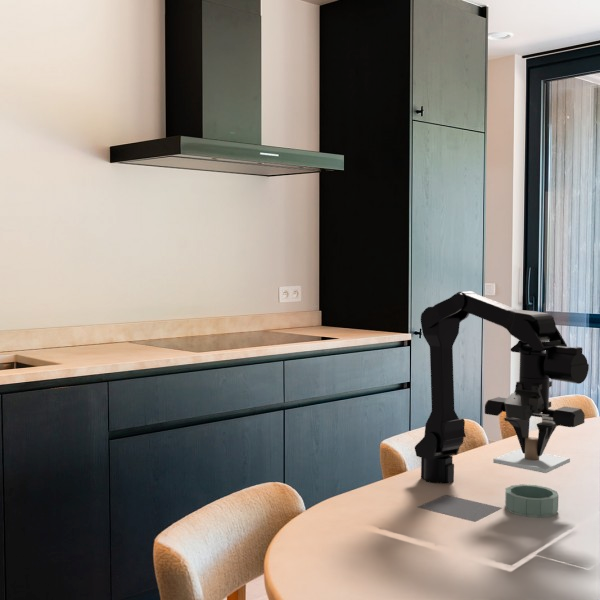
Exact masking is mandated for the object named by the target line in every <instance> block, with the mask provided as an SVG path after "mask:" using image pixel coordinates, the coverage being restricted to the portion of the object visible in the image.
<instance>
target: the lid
mask: <svg viewBox="0 0 600 600" xmlns="http://www.w3.org/2000/svg"><path fill="white" fill-rule="evenodd" d="M537 446H538V437H536V436H534V437H532V436H529V437H526V438H525V454H524V453H523V452H522V449H521V448H517V449H514V450H512V451H510V452H507V453H505V454H502V455H500V456H498V457H495V458H493V462H492V463H493V464H498V465H501V466H502V465H503V466H508V467H513V468H517V469H523V470H527V471H532V472H537V473H543V474H548V473H550V472H553V471H554V470H556V469H559V468H561V467H563V466H564V465H566V464H570V462H571V458H570V457H566V456H559V455H554V454H550V453H544V452H543V454H542V455H541V456H538V453H537Z"/></svg>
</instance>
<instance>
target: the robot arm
mask: <svg viewBox="0 0 600 600" xmlns="http://www.w3.org/2000/svg"><path fill="white" fill-rule="evenodd" d="M470 315H472V316H475V317H478V318H480V319H482V320H485V321H487V322H490V323H492V324H495V325H497V326H500V327H503V328H504V329H505V330H507V331H508V333H509V334H510V335H511V336H512V337H514V338H515V339H516V340H518V341H517V343H516V344H515V345H513V346H512V347H511V348H510V352H512V353H519V374H518V375H519V379H518V381H516V383H515V388H514V389H515V390H514V392H513V393H511V394H510V395H509V396H508V397H506V398H505V397H500V396H497V397H494V398H490V399H488V400H487V401H486V402H485V404H484V414H485V415H489V416H497V417H498V416H500V415H501V414H502V413H503V412H504V413H505V417H504V419H503V420H504V422H508V423H509V425H511V426H512V427H513V429H514V431H515V434H516V437H517V440H518V443H519V447H520V449H522V452H523V453H524V454H525V438H526V437H530V421H531V420H530V419H531V418H532V417H537V418H541V422H538V423H536V427H537V429H538V434H537V435H538V437H537V438H538V446H537V453H538V456H541V455H542V454H543V453H544V451H545V449H546V448H547V445H548V443H549V441H550V438H551V436H552V434H553V432H554V431H555V430H556V428H557V427H559V426H561V427H567V428H575V427H577V426H580V425H583V424H585V418H586V417H585V416H586V415H585V412H584V411H583V409H582V408H577V407H571V406H562V407H560V408H557V409H553V408H551V407H552V401H550V388H551V387H552V386H553V381H560V382H567V383H572V384H579V385H580V384H582V383H583V382H584V381H585V380H586V378H587V377H588V374H589V370H590V369H589V366H590V365H589V363H588V359H587V357H586V356H585V354H583V347H581V346H573V347H572V346H568V345H567V343H566V341H565V339H564V338H563V336H562V334H561V333H560V331H559V329H558V328H557V326H556V322H555V320H554V319H555V318H554V317H553V315H551V314H550V313H547V312H542V311H537V310H536V311H535V310H522V309H517V308H515V307H511V306H509V305H507V304H504V303H501V302H499V301H495V300H494V299H490V298H488V297H485V296H484V295H479V294H478V293H477V292H474V291H472V290H470V291H458V292H456V293H455V294H453V295H451V296H450V297H449V298H446V299H444V300H442V301H440V302H438V303H436V304H434V305H433V306H428V307H426V308H425V309H424V310H423V311H422V312H421V315H420V325H421V331H422V336H423V338H424V339H425V341H426V343H427V344H428V346H429V359H430V360H429V361H430V362H429V363H430V365H429V366H430V395H431V396H430V397H431V412H430V414H429V416H428V418H427V420H426V423H425V427H424V436H423V438H422V439H420V441H419V442H418V443H416V445H414V451H415V456H416V457H418V458H420V459H421V461H420V462H421V465H420V479H422V480H424V481H425V482H428V483H433V484H444V485H445V484H446V485H449V484H451V483H454V482H455V481H454V480H455V464H454V462H453V456H457V455H458V453H459V450H460V447H461V446H462V445H463V444H464V441H465V440H464V439H465V438H466V436H467V434H466V431H465V424H466V421H465V419H464V418H460V417H459V416H458V415H457V413H456V411H455V393H454V392H455V389H454V388H455V387H454V384H455V383H454V382H455V381H454V357H453V354H454V352H453V346H454V344H455V342H456V340H457V337H458V336H459V333H460V324H461V322H463V321H464V320H466V319H467V318H468V317H469V316H470ZM552 380H553V381H552Z"/></svg>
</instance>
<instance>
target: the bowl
mask: <svg viewBox="0 0 600 600" xmlns="http://www.w3.org/2000/svg"><path fill="white" fill-rule="evenodd" d="M504 492H505V494H504V495H505V496H504V499H505V500H504V504H505V509H506V510H507V511H508V512H510V513H512V514H515V515H518V516H523V517H528V518H547V517H553V516H555V515H557V513H558V511H559V493H558V491H557V490H555V489H552V488H550V487H547V486H543V485H539V484H538V485H537V484H525V483H524V484H514V485H510V486H508V487H505V491H504Z"/></svg>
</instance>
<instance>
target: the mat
mask: <svg viewBox="0 0 600 600" xmlns="http://www.w3.org/2000/svg"><path fill="white" fill-rule="evenodd" d="M417 508H419V509H423V510H427V511H430V512H431V511H432V512H435V513H438V514H442V515H446V516H450V517H455V518H458V519H462V520H466V521H470V522H475V523H476V522H477V521H480V520H481V519H483V518H486V517H488V516H489V515H491V514H493V513H496V512H498V511H500V510H501V509H503V507H500V506H495V505H491V504H487V503H482V502H478V501H475V500H469V499H467V498H461V497H458V496H453V495H449V494H444V495H442V496H439V497H437V498H435V499H432V500H430V501H428V502H425V503H423V504H421V505H419V506H417Z"/></svg>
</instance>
